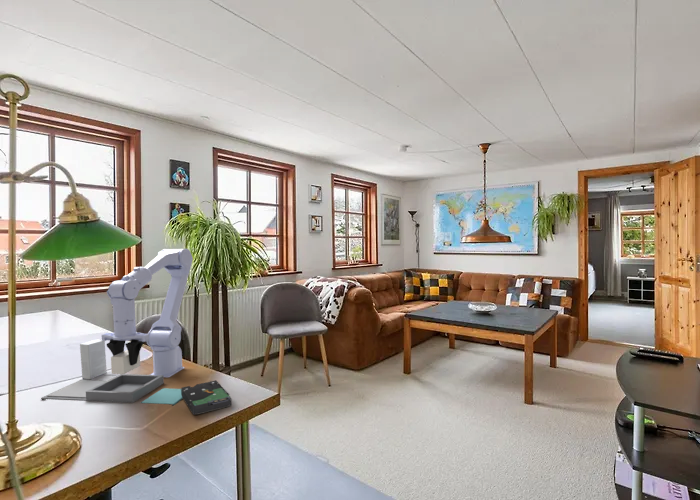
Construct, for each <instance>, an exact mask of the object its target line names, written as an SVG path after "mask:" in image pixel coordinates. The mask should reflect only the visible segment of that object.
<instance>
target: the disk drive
mask: <svg viewBox="0 0 700 500" xmlns="http://www.w3.org/2000/svg"><path fill="white" fill-rule="evenodd" d="M180 389H181V395H182V397H183V399H182V400H184V402H185V404H186V405H187V407H188V409H189V411H190V412H191V414H192V415H199V414H205V413H207V412H211V411H216V410H219V409H223V408H226V407H230V406H232V398H231V396H230V393H229V392H227V390H226V389H225V388H224V387H223V385H221V383H219V381H217V380H211V381H210V380H209V381H206V382H202V383H197V384H196V385H194V386H191V385H188V386H182V387H181V388H180Z"/></svg>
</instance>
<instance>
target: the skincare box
mask: <svg viewBox="0 0 700 500" xmlns="http://www.w3.org/2000/svg"><path fill="white" fill-rule="evenodd" d="M105 343H106V341H102V339H98V338H97V339H92V340H89V341H86V342H82V343H79V349H80V364H81V378H82V379H83V378H84V379H83V380H93V379H95V378H97V377H100V376H101V375H104V374H107V357H106V356H107V355H106V344H105Z"/></svg>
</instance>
